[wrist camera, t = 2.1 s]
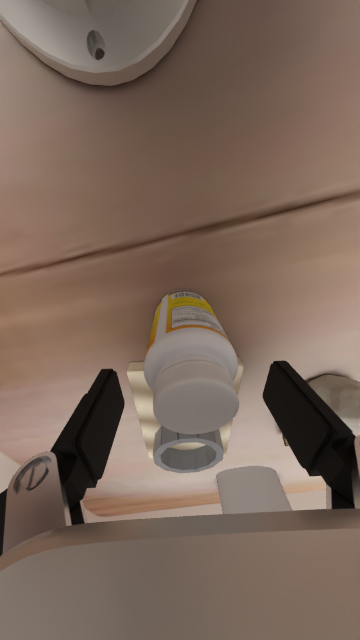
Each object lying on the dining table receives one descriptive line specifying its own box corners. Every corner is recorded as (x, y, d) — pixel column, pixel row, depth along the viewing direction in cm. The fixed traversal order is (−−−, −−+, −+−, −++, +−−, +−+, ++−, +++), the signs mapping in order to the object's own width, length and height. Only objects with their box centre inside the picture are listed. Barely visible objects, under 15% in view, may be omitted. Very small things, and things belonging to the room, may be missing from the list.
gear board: (129, 362, 19) (126, 371, 18) (238, 356, 19) (243, 365, 18) (150, 448, 28) (149, 458, 27) (223, 443, 28) (225, 453, 27)
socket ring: (151, 420, 22) (149, 440, 20) (221, 416, 22) (226, 436, 20) (158, 454, 26) (157, 474, 24) (216, 450, 27) (220, 470, 24)
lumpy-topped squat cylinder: (214, 470, 34) (227, 539, 26) (277, 462, 33) (309, 531, 25) (219, 489, 38) (230, 552, 31) (274, 482, 38) (299, 545, 30)
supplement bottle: (175, 344, 18) (177, 454, 9) (144, 306, 16) (105, 402, 7) (219, 320, 17) (274, 419, 8) (193, 275, 14) (226, 341, 5)
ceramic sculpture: (495, 435, 12) (394, 491, 20) (374, 355, 20) (334, 418, 27) (349, 451, 13) (306, 499, 21) (285, 368, 20) (271, 426, 28)
